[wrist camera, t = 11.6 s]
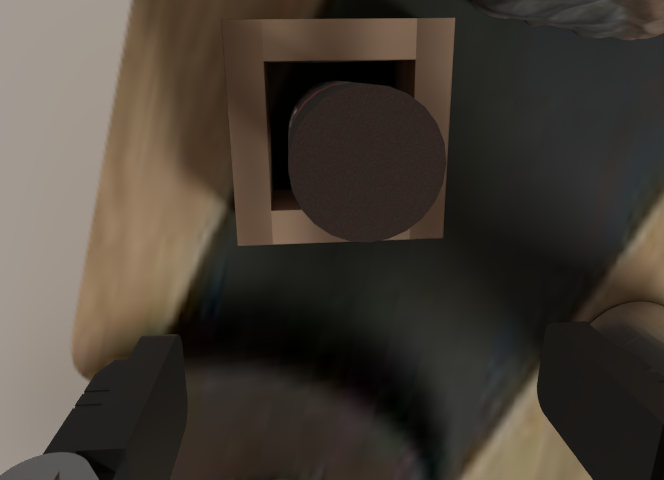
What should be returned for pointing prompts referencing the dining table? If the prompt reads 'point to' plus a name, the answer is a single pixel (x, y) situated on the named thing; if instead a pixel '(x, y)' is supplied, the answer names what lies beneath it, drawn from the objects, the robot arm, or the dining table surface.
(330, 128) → the deodorant
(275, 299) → the dining table surface
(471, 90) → the dining table surface
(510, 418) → the dining table surface
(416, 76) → the socket block
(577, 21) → the owl
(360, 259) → the dining table surface
